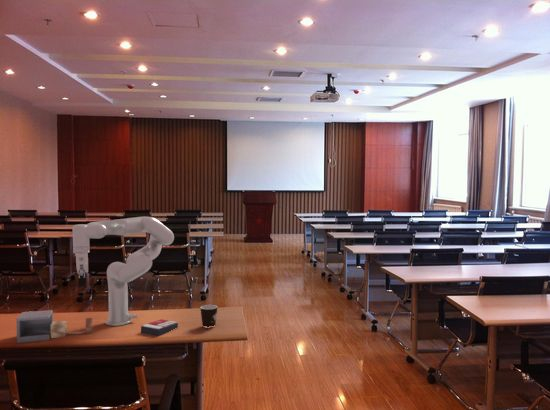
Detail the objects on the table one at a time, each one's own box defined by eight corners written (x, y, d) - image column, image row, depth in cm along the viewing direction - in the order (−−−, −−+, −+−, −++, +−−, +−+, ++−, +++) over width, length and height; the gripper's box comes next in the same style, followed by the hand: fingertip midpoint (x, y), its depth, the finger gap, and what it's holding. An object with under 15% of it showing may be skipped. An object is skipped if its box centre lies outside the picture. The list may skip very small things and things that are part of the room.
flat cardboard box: (178, 321, 234) (158, 328, 221) (178, 330, 234) (158, 337, 221) (161, 318, 239) (140, 324, 226) (160, 326, 239) (140, 333, 226)
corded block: (93, 330, 229) (92, 316, 229) (91, 334, 223) (91, 320, 223) (53, 334, 224) (52, 319, 224) (50, 337, 218) (50, 323, 218)
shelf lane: (52, 332, 226) (52, 310, 226) (48, 340, 215) (48, 316, 214) (22, 335, 222) (22, 312, 222) (16, 342, 211) (16, 318, 211)
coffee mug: (206, 330, 230) (206, 310, 230) (197, 326, 237) (197, 306, 237) (225, 325, 238) (225, 306, 238) (216, 321, 245) (216, 303, 244)
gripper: (89, 251, 222) (90, 287, 223) (89, 246, 238) (90, 280, 239) (72, 252, 219) (73, 288, 220) (73, 247, 235) (74, 281, 236)
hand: (82, 284), depth 230 cm, fingers open, 9 cm apart
